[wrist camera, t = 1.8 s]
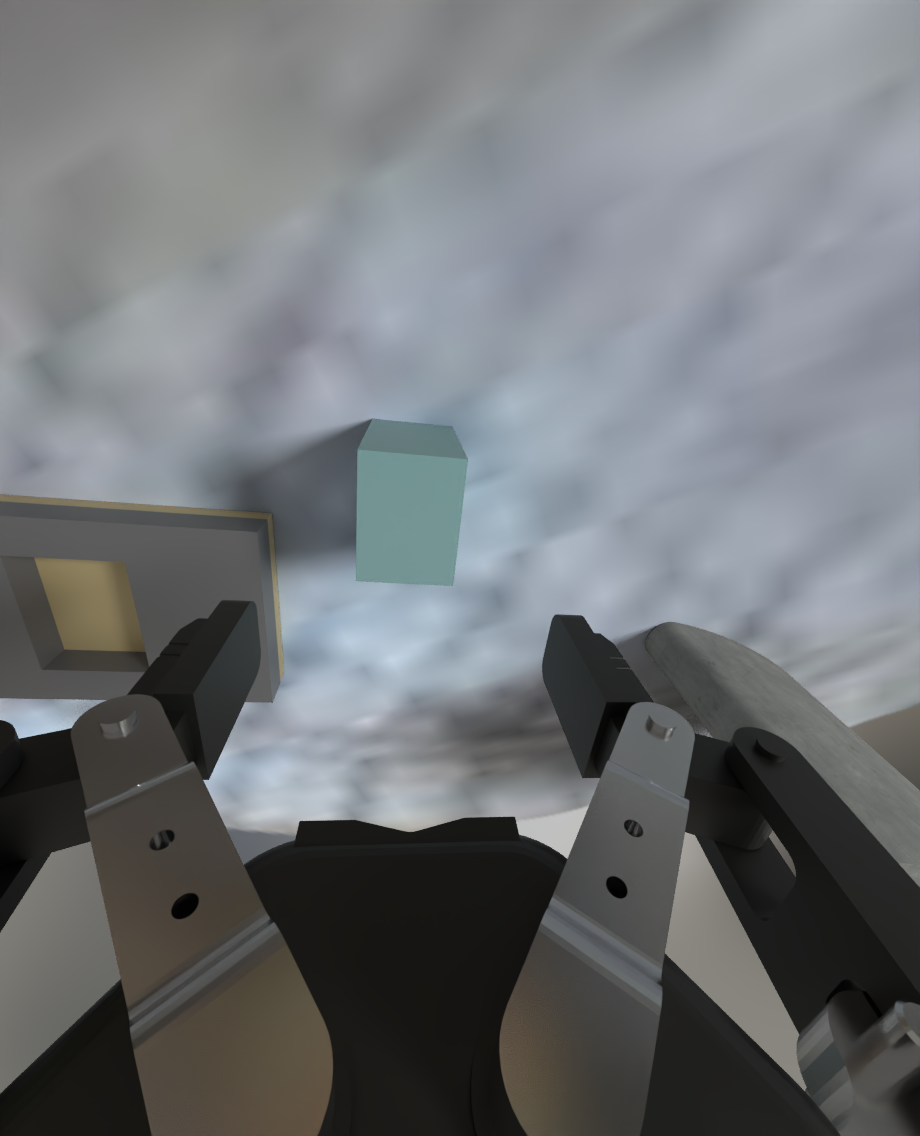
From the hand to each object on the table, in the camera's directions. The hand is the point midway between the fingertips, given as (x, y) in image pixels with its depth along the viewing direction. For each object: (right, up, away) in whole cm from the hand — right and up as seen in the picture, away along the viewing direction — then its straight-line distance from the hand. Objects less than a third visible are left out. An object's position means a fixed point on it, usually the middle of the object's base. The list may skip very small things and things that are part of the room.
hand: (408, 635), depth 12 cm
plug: (-2, +7, +15) cm, 16 cm away
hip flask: (+23, -6, +24) cm, 33 cm away
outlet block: (-20, 0, +16) cm, 26 cm away
